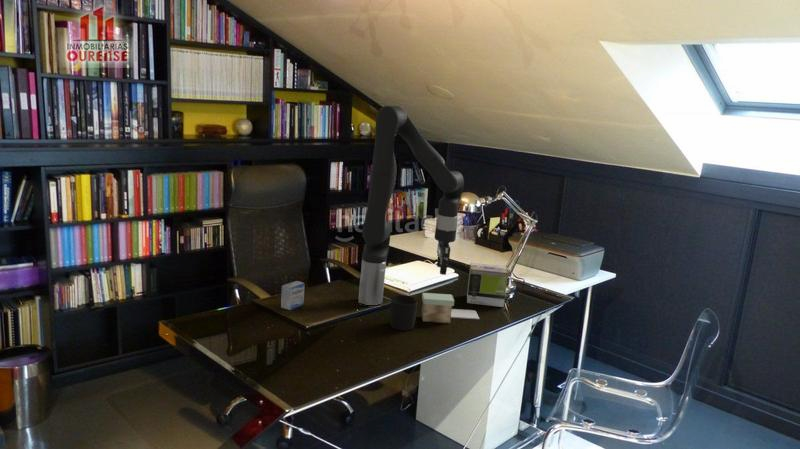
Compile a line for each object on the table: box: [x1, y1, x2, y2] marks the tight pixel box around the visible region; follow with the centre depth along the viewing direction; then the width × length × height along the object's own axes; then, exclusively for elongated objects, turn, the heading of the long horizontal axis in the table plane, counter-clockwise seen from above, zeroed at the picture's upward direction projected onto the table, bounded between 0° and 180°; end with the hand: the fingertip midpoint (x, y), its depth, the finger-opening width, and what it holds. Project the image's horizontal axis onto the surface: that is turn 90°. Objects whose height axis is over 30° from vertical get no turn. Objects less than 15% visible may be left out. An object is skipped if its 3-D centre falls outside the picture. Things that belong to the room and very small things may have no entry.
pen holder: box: [389, 294, 419, 332], centre depth 213 cm, size 9×9×10 cm
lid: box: [421, 292, 455, 307], centre depth 221 cm, size 11×6×3 cm, turn 94°
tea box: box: [466, 262, 509, 308], centre depth 245 cm, size 15×10×15 cm
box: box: [421, 302, 453, 324], centre depth 222 cm, size 10×5×7 cm, turn 94°
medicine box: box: [280, 280, 306, 311], centre depth 221 cm, size 8×4×9 cm, turn 150°
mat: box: [451, 308, 480, 320], centre depth 230 cm, size 12×8×1 cm, turn 94°
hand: (441, 270), depth 218 cm, fingers open, 8 cm apart
